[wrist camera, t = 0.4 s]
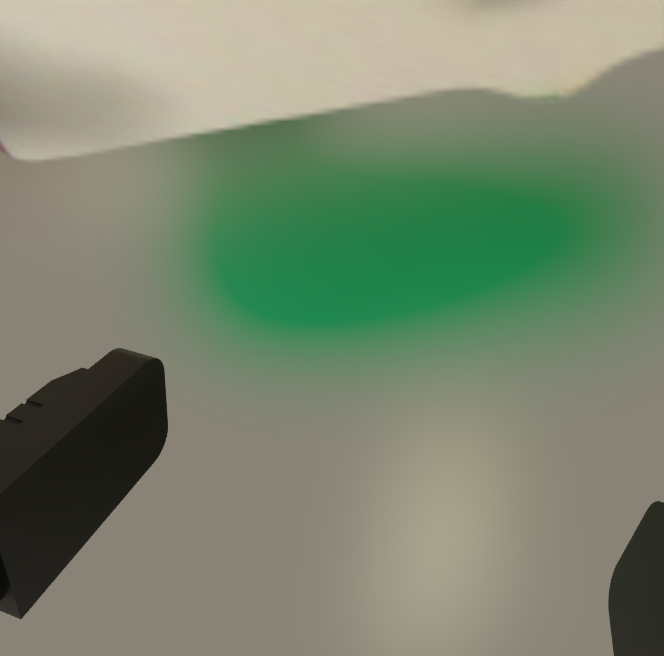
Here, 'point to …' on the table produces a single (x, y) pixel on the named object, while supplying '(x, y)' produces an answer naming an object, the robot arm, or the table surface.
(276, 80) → the table surface
